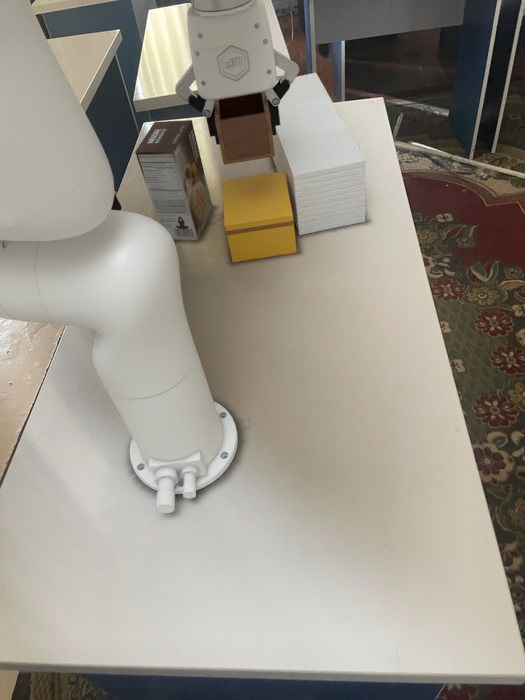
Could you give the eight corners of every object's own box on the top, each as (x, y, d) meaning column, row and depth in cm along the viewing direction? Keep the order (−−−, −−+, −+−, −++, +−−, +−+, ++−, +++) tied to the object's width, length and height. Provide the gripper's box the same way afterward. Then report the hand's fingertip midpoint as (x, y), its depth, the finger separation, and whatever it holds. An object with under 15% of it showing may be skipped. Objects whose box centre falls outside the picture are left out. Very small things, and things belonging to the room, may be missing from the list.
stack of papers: (365, 221, 90) (365, 160, 82) (299, 235, 90) (293, 175, 82) (319, 128, 111) (316, 72, 103) (266, 139, 111) (258, 84, 103)
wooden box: (275, 156, 76) (269, 113, 71) (223, 165, 76) (215, 122, 72) (268, 121, 83) (263, 79, 78) (221, 129, 83) (213, 88, 78)
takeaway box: (297, 253, 87) (293, 214, 82) (232, 262, 87) (224, 225, 82) (288, 207, 95) (284, 170, 90) (229, 217, 95) (221, 180, 90)
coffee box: (179, 207, 99) (154, 119, 87) (213, 208, 98) (193, 118, 86) (162, 240, 94) (133, 151, 82) (199, 241, 92) (175, 150, 80)
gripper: (146, 15, 63) (184, 159, 77) (301, -12, 63) (311, 138, 76) (150, -7, 68) (185, 132, 82) (293, -32, 68) (304, 112, 81)
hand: (245, 134), depth 79 cm, fingers closed on wooden box, 7 cm apart
